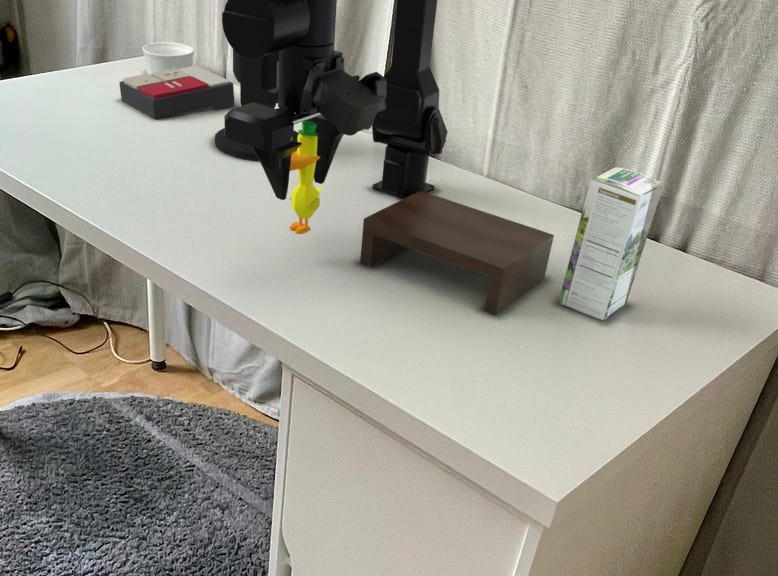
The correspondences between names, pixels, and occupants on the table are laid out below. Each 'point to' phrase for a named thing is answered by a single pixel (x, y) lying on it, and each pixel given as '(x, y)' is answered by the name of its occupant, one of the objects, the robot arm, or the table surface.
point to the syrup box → (609, 241)
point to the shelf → (461, 243)
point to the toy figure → (305, 177)
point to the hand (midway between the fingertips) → (300, 190)
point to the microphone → (250, 98)
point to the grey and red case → (177, 91)
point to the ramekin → (167, 56)
